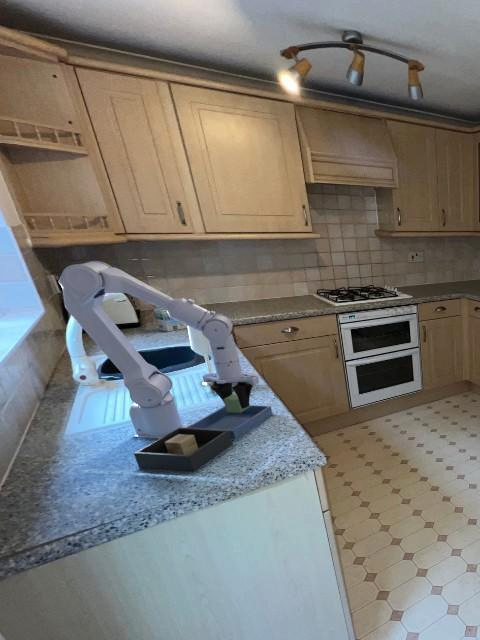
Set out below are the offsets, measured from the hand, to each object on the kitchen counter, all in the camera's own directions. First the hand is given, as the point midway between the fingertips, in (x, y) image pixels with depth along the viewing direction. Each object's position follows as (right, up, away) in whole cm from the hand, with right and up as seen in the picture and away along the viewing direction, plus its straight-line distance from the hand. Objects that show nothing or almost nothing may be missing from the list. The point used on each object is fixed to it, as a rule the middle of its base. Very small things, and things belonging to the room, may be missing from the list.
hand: (237, 406), depth 113 cm
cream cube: (-2, -10, -16) cm, 19 cm away
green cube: (0, -1, 0) cm, 1 cm away
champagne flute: (-28, +7, +28) cm, 40 cm away
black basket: (-1, -11, -16) cm, 20 cm away
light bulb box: (-97, +35, +94) cm, 139 cm away
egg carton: (-18, +5, +23) cm, 30 cm away
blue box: (0, -5, -2) cm, 6 cm away
